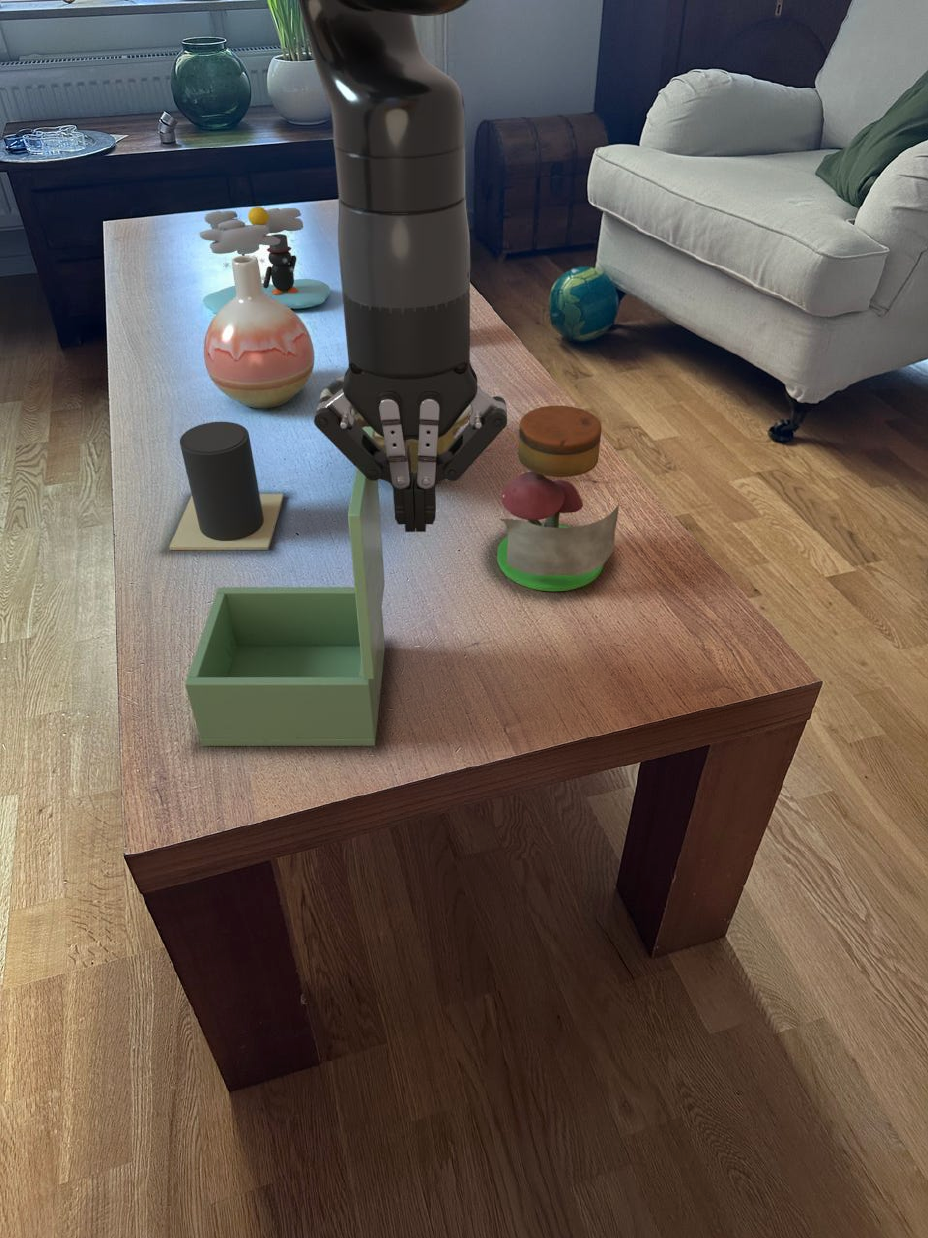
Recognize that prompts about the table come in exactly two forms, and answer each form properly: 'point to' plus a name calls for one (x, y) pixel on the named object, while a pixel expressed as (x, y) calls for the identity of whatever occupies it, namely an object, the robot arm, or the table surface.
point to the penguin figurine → (279, 256)
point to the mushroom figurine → (554, 503)
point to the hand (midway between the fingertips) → (416, 525)
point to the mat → (194, 539)
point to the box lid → (367, 563)
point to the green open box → (284, 670)
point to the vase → (257, 344)
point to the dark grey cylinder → (222, 480)
